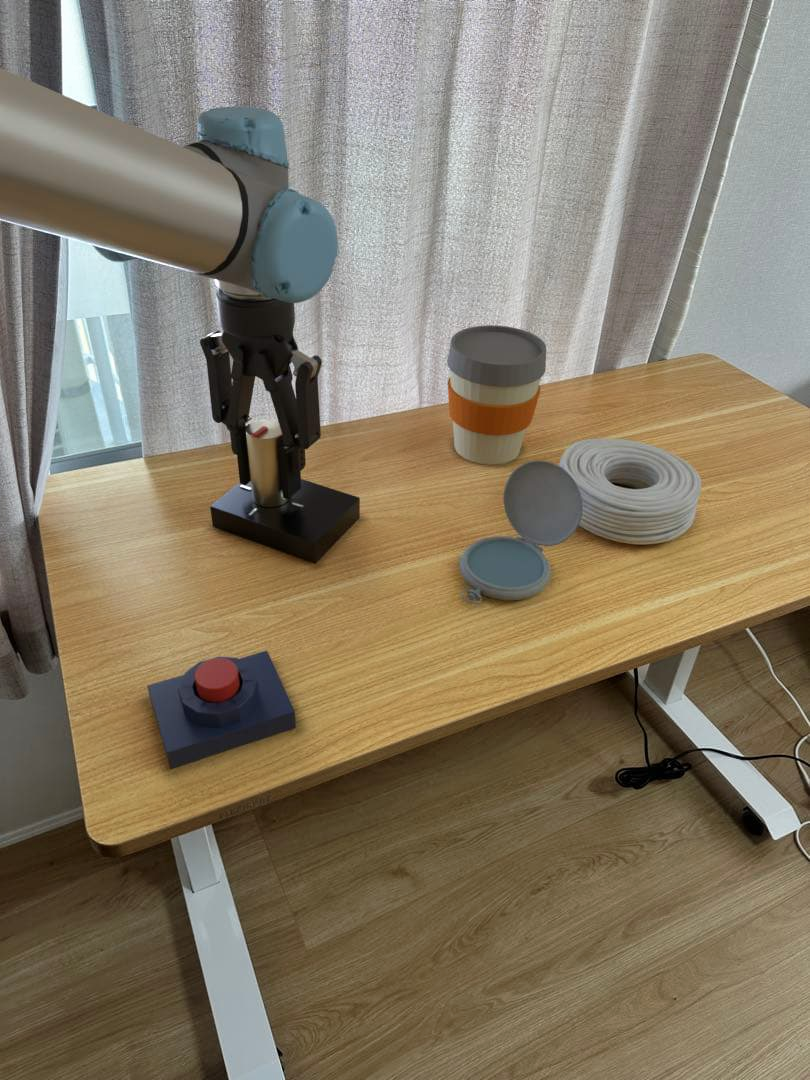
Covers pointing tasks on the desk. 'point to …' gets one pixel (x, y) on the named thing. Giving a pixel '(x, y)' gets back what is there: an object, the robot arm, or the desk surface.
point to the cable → (632, 490)
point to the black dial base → (289, 519)
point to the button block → (220, 711)
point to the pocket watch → (524, 534)
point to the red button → (217, 680)
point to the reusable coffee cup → (493, 390)
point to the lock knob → (265, 462)
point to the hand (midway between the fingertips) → (270, 485)
